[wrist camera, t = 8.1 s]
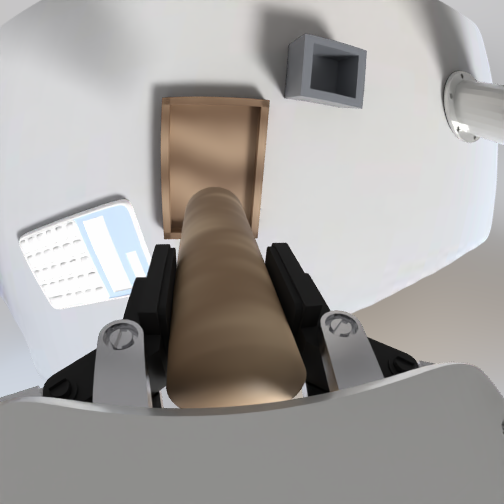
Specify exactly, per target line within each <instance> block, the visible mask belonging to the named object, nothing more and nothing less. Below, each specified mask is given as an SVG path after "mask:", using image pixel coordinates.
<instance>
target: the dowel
mask: <svg viewBox="0 0 504 504" xmlns="http://www.w3.org/2000/svg"><path fill="white" fill-rule="evenodd" d="M305 380H306V368H305V366H304V363H303V360H302V358H301V355H300V353H299V350H298V347H297V345H296V342H295V340H294V337H293V334H292V332H291V329H290V327H289V324H288V322H287V319H286V316H285V314H284V311H283V309H282V306H281V304H280V301H279V298H278V296H277V293H276V291H275V288H274V286H273V283H272V281H271V278H270V275H269V273H268V270H267V268H266V265H265V263H264V260H263V258H262V255H261V253H260V250H259V247H258V245H257V242H256V240H255V237H254V235H253V232H252V230H251V227H250V225H249V222H248V220H247V217H246V215H245V212H244V210H243V207H242V205H241V202H240V201H239V199H238V198H237V196H236V195H235V194H233V193H232V192H231V191H229V190H227V189H224V188H221V187H208V188H205V189H202V190H200V191H198V192H197V193H195V194H194V195H193V196H192V197H191V198H190V200H189V201H188V203H187V206H186V209H185V215H184V221H183V227H182V233H181V240H180V246H179V253H178V261H177V269H176V277H175V286H174V295H173V304H172V314H171V325H170V337H169V347H168V362H167V382H166V389H167V394H168V396H169V398H170V399H171V400H172V402H173V403H174V404H175V405H177V406H178V407H179V408H215V407H232V406H244V405H254V404H263V403H271V402H278V401H285V400H291V399H292V398H294V397H295V396H296V395H297V394H298V392H299V391H300V390H301V389H302V387H303V385H304V383H305Z"/></svg>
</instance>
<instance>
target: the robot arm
mask: <svg viewBox="0 0 504 504" xmlns="http://www.w3.org/2000/svg"><path fill="white" fill-rule="evenodd" d="M444 106H445V112H446V117H447V120H448V123H449V125H450V127H451V129H452V131H453V133H454V134H455V135H456V136H457V137H458V139H460V140H462V141H464V142H467V143H473V142H475V141H477V140H478V139H479V138H484V139H487V140H490V141H493V142H496V143H499V144H502V145H504V85H498V84H492V83H485V82H477V81H476V79H475V78H474V77H473V76H472V75H471V74H469V73H467V72H464V71H457V72H454V73H452V74H451V75H450V77H449V78H448V80H447V82H446V86H445V91H444ZM265 265H266V268H267V270H268V273H269V275H270V278H271V281H272V283H273V286H274V288H275V291H276V293H277V296H278V298H279V301H280V304H281V306H282V309H283V311H284V314H285V316H286V319H287V322H288V324H289V327H290V329H291V332H292V334H293V337H294V340H295V342H296V345H297V347H298V350H299V353H300V355H301V358H302V360H303V363H304V366H305V368H306V380H305V383H304V385H303V387H302V393H303V398H298V399H292V400H285V401H278V402H271V403H263V404H254V405H244V406H232V407H215V408H179V409H178V408H164V407H163V400H162V393H161V389H162V388H164V387H165V386H166V382H167V362H168V347H169V337H170V325H171V314H172V304H173V295H174V286H175V277H176V269H177V263H176V250H175V248H170V244H158V245H156V246H155V249H154V252H153V255H152V259H151V262H150V266H149V269H148V273H147V276H146V277H136V279H135V281H134V284H133V287H132V290H131V294H130V297H129V300H128V303H127V307H126V310H125V314H124V317H123V319H121V320H116V321H113V322H111V323H108V324H107V325H106V326H104V327H103V329H102V330H101V331H100V333H99V336H98V342H97V349H95V350H93V351H92V352H90V353H88V354H87V355H85V356H84V357H82V358H80V359H79V360H77V361H75V362H74V363H72V364H70V365H69V366H67V367H65V368H64V369H62V370H61V371H59V372H57V373H56V374H54V375H52V376H51V377H50V378H49V379H48V380H47V381H46V383H45V384H44V387H43V388H40V387H39V386H36V387H33V388H29V389H27V390H23V391H20V392H17V393H14V394H11V395H7V396H4V397H1V398H0V504H504V398H503V396H502V395H501V394H500V392H499V390H498V389H497V388H496V386H495V385H494V384H493V382H492V381H491V380H490V379H489V378H488V376H487V375H486V374H485V373H484V372H483V371H482V370H481V369H480V368H478V367H477V366H475V365H472V364H468V363H463V362H446V363H438V364H434V363H429V362H423V361H419V363H417V362H416V360H415V359H414V358H413V357H412V356H410V355H408V354H407V353H404V352H402V351H399V350H397V349H394V348H392V347H390V346H387V345H385V344H383V343H380V342H378V341H375V340H373V339H371V338H368V337H367V336H366V333H365V331H364V329H363V326H362V324H361V323H360V321H359V320H358V319H357V318H356V317H355V316H353V315H351V314H350V313H347V312H344V311H337V310H335V311H330V309H329V307H328V306H327V304H326V302H325V300H324V299H323V297H322V295H321V294H320V292H319V290H318V289H317V287H316V285H315V284H314V282H313V280H312V279H311V277H310V275H309V274H308V273H304V271H303V269H302V268H301V266H300V264H299V263H298V261H297V259H296V258H295V256H294V254H293V253H292V251H291V249H290V247H289V246H288V244H287V243H272V246H271V247H267V252H266V261H265Z"/></svg>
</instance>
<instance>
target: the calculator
mask: <svg viewBox="0 0 504 504" xmlns="http://www.w3.org/2000/svg"><path fill="white" fill-rule="evenodd" d="M19 245H20V248H21V250H22V252H23V254H24V256H25V259H26V261H27V263H28V265H29V267H30V269H31V270H32V272H33V274H34V276H35V278H36V280H37V282H38V284H39V285H40V287H41V289H42V291H43V292H44V294H45V296H46V297H47V299H48V301H49V302H50V304H51V305H52V306H53V307H54V308H55V309H64V308H70V307H75V306H81V305H86V304H92V303H97V302H102V301H108V300H113V299H118V298H123V297H128V296H130V294H131V290H132V287H133V284H134V281H135V279H136V277H146V276H147V273H148V269H149V266H150V262H151V257H150V254H149V251H148V249H147V246H146V243H145V240H144V238H143V235H142V232H141V229H140V226H139V223H138V220H137V217H136V214H135V211H134V209H133V206H132V204H131V203H130V201H128V200H126V199H120V200H116V201H113V202H109V203H106V204H103V205H100V206H97V207H94V208H91V209H88V210H85V211H82V212H79V213H77V214H74V215H71V216H68V217H65V218H63V219H60V220H57V221H55V222H52V223H50V224H47V225H45V226H42V227H39V228H37V229H35V230H32V231H30V232H27V233H25V234H24V235H22V236H21V237H20V239H19Z"/></svg>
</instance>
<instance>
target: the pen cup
mask: <svg viewBox="0 0 504 504" xmlns="http://www.w3.org/2000/svg"><path fill="white" fill-rule="evenodd" d="M366 53H367V51H366V50H363V49H360V48H357V47H354V46H351V45H348V44H344V43H341V42H337V41H334V40H330V39H326V38H322V37H318V36H314V35H310V34H304V35H302V36H301V37H300V38H298V39H297V40H295V41H294V42H292V43H291V44H290V45H289V50H288V63H287V75H286V86H285V98H287V99H294V100H301V101H307V102H313V103H319V104H324V105H330V106H334V107H342V108H360V109H362V105H363V95H364V84H365V70H366Z"/></svg>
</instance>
